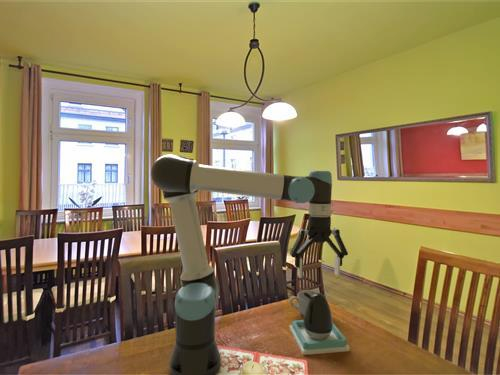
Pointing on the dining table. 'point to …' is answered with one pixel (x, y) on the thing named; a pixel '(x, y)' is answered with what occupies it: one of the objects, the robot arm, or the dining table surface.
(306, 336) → the dock
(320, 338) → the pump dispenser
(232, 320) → the dining table surface
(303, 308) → the teacup
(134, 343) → the dining table surface
